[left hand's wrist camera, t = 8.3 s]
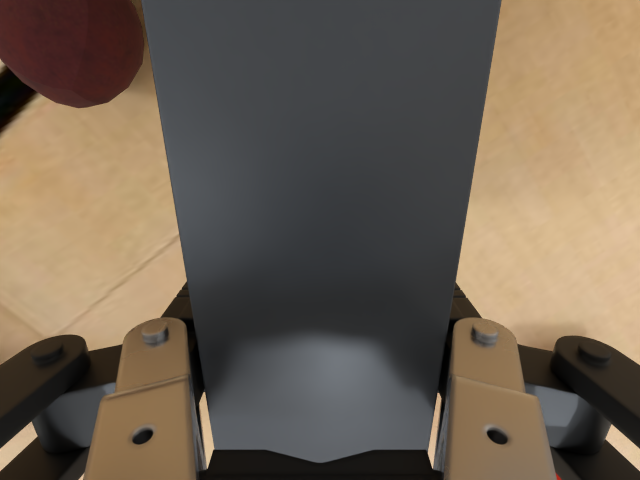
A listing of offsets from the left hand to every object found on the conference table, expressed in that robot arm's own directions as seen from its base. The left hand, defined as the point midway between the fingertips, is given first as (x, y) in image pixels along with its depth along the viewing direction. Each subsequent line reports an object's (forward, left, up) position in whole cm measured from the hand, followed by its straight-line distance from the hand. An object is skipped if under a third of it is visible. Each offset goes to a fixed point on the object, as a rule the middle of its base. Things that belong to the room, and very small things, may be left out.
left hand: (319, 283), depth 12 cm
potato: (-16, +1, -15) cm, 22 cm away
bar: (-5, +8, -4) cm, 10 cm away
